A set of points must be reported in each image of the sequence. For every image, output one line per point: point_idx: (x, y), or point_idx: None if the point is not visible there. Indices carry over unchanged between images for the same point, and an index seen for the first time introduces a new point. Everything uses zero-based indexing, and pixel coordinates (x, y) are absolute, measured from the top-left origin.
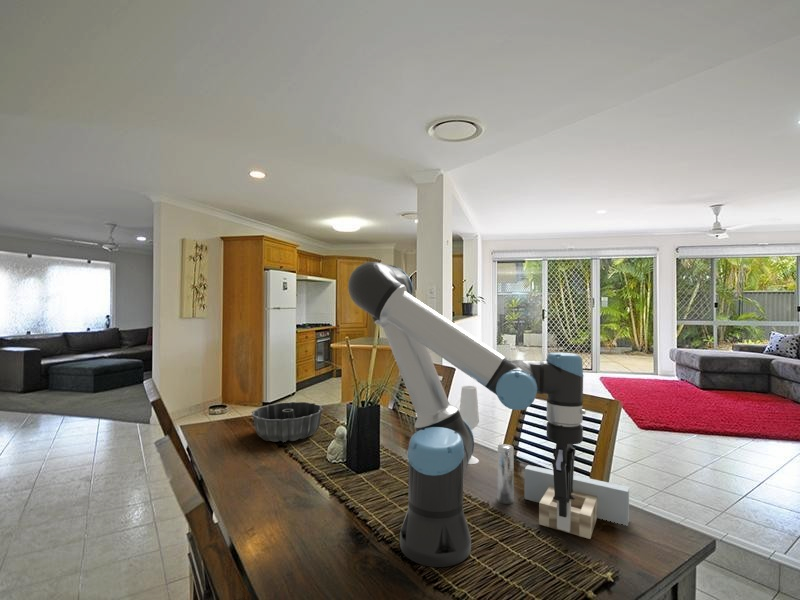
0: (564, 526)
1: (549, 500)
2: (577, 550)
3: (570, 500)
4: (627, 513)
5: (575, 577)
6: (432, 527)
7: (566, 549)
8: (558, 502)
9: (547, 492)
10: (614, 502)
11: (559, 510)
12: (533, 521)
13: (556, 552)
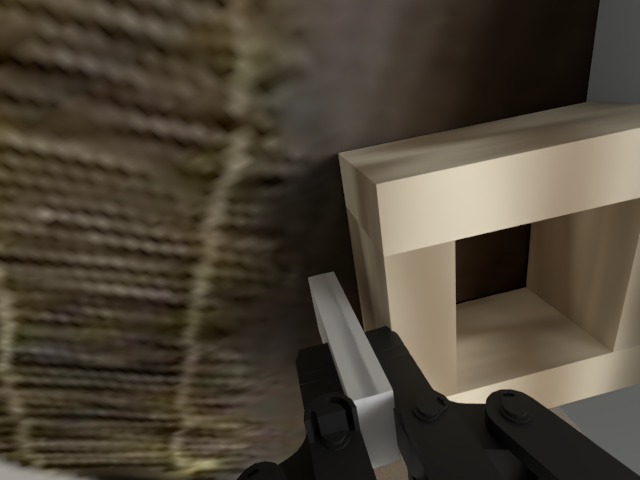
0: (318, 322)
1: (462, 223)
2: (257, 358)
3: (394, 461)
4: (586, 434)
5: (76, 423)
6: None
7: (228, 331)
8: (345, 389)
9: (591, 151)
10: (626, 429)
11: (299, 382)
12: (355, 108)
13: (169, 316)
